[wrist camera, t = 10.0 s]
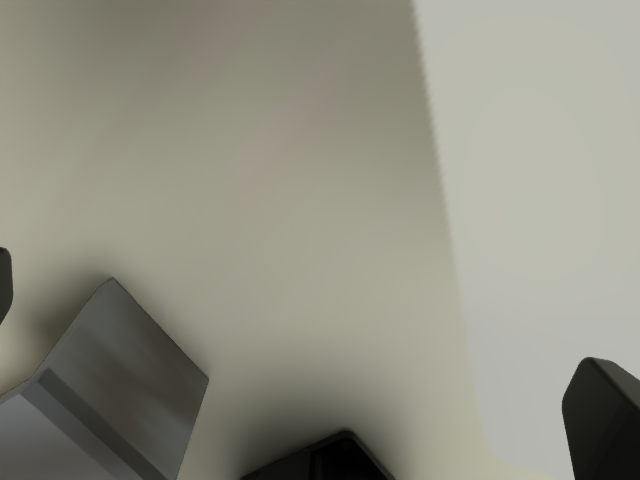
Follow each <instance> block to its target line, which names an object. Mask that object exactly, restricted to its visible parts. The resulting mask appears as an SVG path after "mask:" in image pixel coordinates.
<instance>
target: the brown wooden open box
mask: <svg viewBox="0 0 640 480" xmlns="http://www.w3.org/2000/svg"><path fill="white" fill-rule="evenodd" d="M208 382H209V379H208V378H207V377H206V376H205V375H204V374H203V373H202V372H201V371H200V370H199V369H198V368H197V367H196V365H195V364H194V363H193V362H192V361H191V360H190V359H189V358H188V357H187V356H186V355H185V354H184V353H183V352H182V351H181V349H180V348H179V347H178V346H177V345H176V344H175V343H174V342H173V341H172V340H171V339H170V338H169V337H168V336H167V335H166V333H165V332H164V331H163V330H162V329H161V328H160V327H159V326H158V325H157V324H156V323H155V322H154V321H153V320H152V319H151V318H150V316H149V315H148V314H147V313H146V312H145V311H144V310H143V309H142V308H141V307H140V306H139V305H138V304H137V303H136V302H135V300H134V299H133V298H132V297H131V296H130V295H129V294H128V293H127V292H126V291H125V290H124V289H123V288H122V287H121V286H120V284H119V283H118V282H117V281H116V280H115V279H114V278H112V279H110V280H109V281H107V282H106V283H104V284H103V285H101V286H100V287H98V289H97V290H96V291H95V293H94V294H93V295H92V297H91V298H90V299H89V301H88V302H87V303H86V305H85V306H84V307H83V309H82V310H81V311H80V313H79V314H78V315H77V317H76V318H75V319H74V321H73V322H72V323H71V325H70V326H69V327H68V329H67V330H66V331H65V333H64V334H63V335H62V337H61V338H60V339H59V341H58V342H57V343H56V345H55V346H54V347H53V349H52V350H51V351H50V353H49V354H48V355H47V357H46V358H45V359H44V361H43V362H42V363H41V365H40V366H39V367H38V369H37V370H36V371H35V373H34V374H33V375H32V377H31V378H30V379H28V380H27V381H25V382H23V383H22V384H20V385H18V386H17V387H15V388H14V389H12V390H10V391H9V392H7V393H5V394H4V395H2V396H1V397H0V480H176V479H177V475H178V472H179V469H180V466H181V463H182V460H183V457H184V454H185V451H186V448H187V445H188V442H189V439H190V436H191V433H192V430H193V427H194V424H195V421H196V418H197V415H198V412H199V409H200V406H201V403H202V400H203V397H204V394H205V391H206V388H207V385H208Z"/></svg>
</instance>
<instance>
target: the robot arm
mask: <svg viewBox="0 0 640 480" xmlns="http://www.w3.org/2000/svg"><path fill="white" fill-rule="evenodd" d="M12 301H13V280H12V262H11V255H10V253H9V251H8V250H7V249H6V248H3V247H0V325H1V323H2V321H3V320H4V318H5V316H6V315H7V313H8V311H9V309H10V307H11V304H12ZM562 414H563V419H564V425H565V430H566V435H567V440H568V446H569V451H570V456H571V461H572V466H573V472H574V477H575V480H640V380H638V379H637V378H635V377H634V376H633V375H631V374H630V373H628V372H627V371H625V370H624V369H623V368H621V367H620V366H619V365H617V364H616V363H614V362H612V361H609V360H604V359H598V358H593V357H587V358H584V359H583V360H582V361H581V362H580V364H579V365H578V367H577V369H576V372H575V374H574V375H573V378H572V379H571V381H570V384H569V386H568V388H567V390H566V392H565V394H564V397H563V400H562ZM343 442H349V443H347V444H346V443H343ZM240 480H394V479H393V478H392V477H391V476H390V474H389V473H388V472H387V471H386V470H385V468H384V467H383V466H382V465H381V464H380V463H379V461H378V460H377V459H376V458H375V457H374V456H373V454H372V453H371V452H370V451H369V450H368V448H367V447H366V446H365V445H364V444H363V443H362V441H361V440H360V439H359V438H358V437H357V436H356V435H355V434H354V433H353V432H350V431H342V432H339V433H337V434H335V435H333V436H331V437H329V438H326V439H324V440H322V441H320V442H318V443H316V444H314V445H312V446H309V447H307V448H305V449H303V450H301V451H299V452H297V453H295V454H292V455H290V456H288V457H286V458H284V459H282V460H280V461H278V462H275V463H273V464H271V465H269V466H267V467H265V468H263V469H261V470H258V471H256V472H254V473H252V474H250V475H248V476H246V477H244V478H242V479H240Z"/></svg>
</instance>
